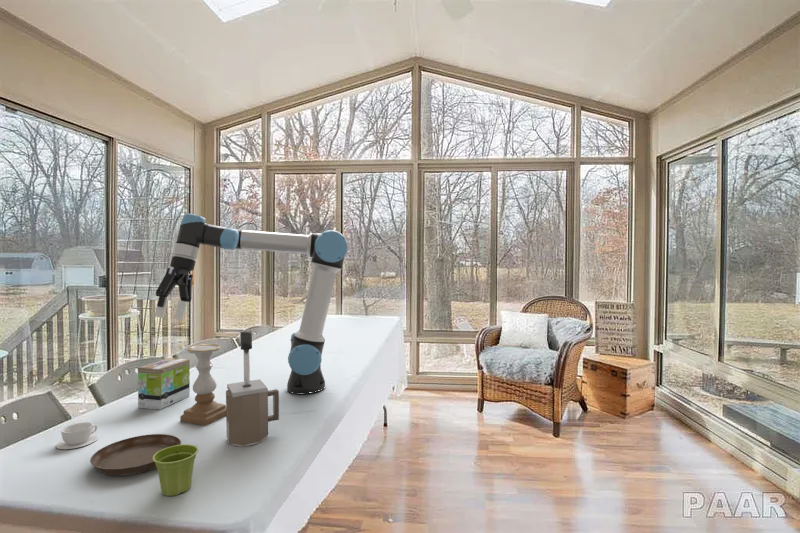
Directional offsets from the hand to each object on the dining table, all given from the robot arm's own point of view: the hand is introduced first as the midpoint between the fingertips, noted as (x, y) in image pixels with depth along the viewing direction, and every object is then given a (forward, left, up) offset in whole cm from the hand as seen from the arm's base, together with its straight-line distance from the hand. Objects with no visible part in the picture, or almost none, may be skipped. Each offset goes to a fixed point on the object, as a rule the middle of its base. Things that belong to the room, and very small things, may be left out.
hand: (169, 318), depth 146 cm
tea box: (+1, -15, -33) cm, 36 cm away
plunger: (-19, +33, -23) cm, 45 cm away
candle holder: (-10, +9, -33) cm, 36 cm away
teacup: (+25, +11, -34) cm, 43 cm away
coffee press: (-20, +33, -33) cm, 51 cm away
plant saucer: (+9, +32, -34) cm, 48 cm away
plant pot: (+1, +53, -33) cm, 63 cm away
